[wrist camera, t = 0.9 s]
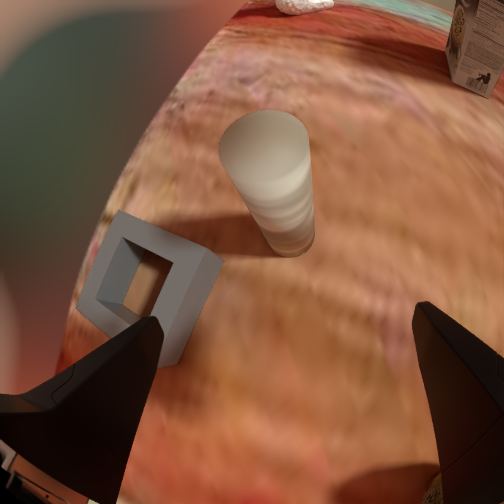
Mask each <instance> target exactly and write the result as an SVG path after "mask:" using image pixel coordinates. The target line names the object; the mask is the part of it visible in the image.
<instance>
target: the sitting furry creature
mask: <svg viewBox="0 0 504 504" xmlns="http://www.w3.org/2000/svg"><path fill="white" fill-rule="evenodd" d="M275 3H276V6H277V8H278V9H279V10H280V12H283V13H285V14H289V15H301V14H306V13H311V12H316V11H321V10H327V9H330V8H332V7H333V6H334V3H333V1H332V0H276V2H275Z"/></svg>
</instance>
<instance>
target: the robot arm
mask: <svg viewBox="0 0 504 504" xmlns="http://www.w3.org/2000/svg"><path fill="white" fill-rule="evenodd" d="M412 330H413V335H414V340H415V346H416V351H417V357H418V363H419V367H420V372H421V375H422V379H423V383H424V387H425V391H426V395H427V399H428V403H429V408H430V412H431V417H432V422H433V427H434V432H435V438H436V443H437V450H438V456H439V464H440V472H441V473H442V474H441V482H442V494H443V504H504V358H503V357H502V356H501V355H499V354H498V355H497V352H496V351H494V350H493V349H492V348H490V347H489V346H488V345H487V344H485V343H484V342H483V341H482V340H480V339H479V338H478V337H476V336H475V335H474V334H472V333H471V332H470V331H468V330H467V329H466V328H464V327H463V326H462V325H460V324H459V323H458V322H456V321H455V320H454V319H452V318H451V317H450V316H448V315H447V314H445V313H444V312H443V311H441V310H440V309H438V308H437V307H436V306H434V305H433V304H431V303H430V302H428V301H424V302H418V303H417V304H416V306H415V311H414V315H413V319H412ZM163 342H164V331H163V329H162V327H161V325H160V323H159V320H158V318H157V317H156V316H144V317H143V318H141V319H140V320H138V321H137V322H135V323H134V324H132V325H131V326H129V327H128V328H126V329H125V330H123V331H122V332H120V333H119V334H117V335H116V336H114V337H113V338H111V339H110V340H108V341H107V342H106V343H104V344H103V345H101V346H100V347H98V348H97V349H95V350H94V351H92V352H91V353H89V354H88V355H86V356H85V357H83V358H82V359H80V360H79V361H77V362H76V363H74V364H73V365H71V366H70V367H68V368H67V369H65V370H64V371H62V372H61V373H59V374H58V375H56V376H54V377H53V378H51V379H49V380H47V381H46V382H44V383H42V384H41V385H39V386H37V387H35V388H33V389H32V390H30V391H28V392H26V393H23V394H19V395H9V394H0V504H88V501H89V499H91V500H93V501H95V502H97V503H99V504H116V502H117V498H118V494H119V491H120V487H121V483H122V480H123V476H124V472H125V469H126V465H127V462H128V458H129V455H130V451H131V448H132V445H133V441H134V438H135V435H136V432H137V429H138V425H139V422H140V419H141V416H142V413H143V410H144V407H145V404H146V401H147V398H148V395H149V392H150V389H151V386H152V383H153V380H154V377H155V374H156V371H157V367H158V362H159V358H160V354H161V350H162V346H163Z"/></svg>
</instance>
